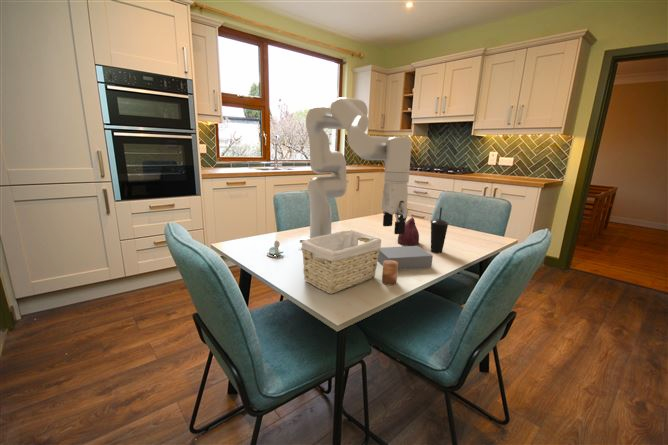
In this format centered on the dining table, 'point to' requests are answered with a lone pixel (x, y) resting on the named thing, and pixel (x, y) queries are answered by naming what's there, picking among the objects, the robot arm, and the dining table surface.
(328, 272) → the storage basket
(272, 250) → the pacifier
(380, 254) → the stand
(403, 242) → the vegetable
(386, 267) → the cylinder
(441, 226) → the drinking cup
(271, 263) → the dining table surface
